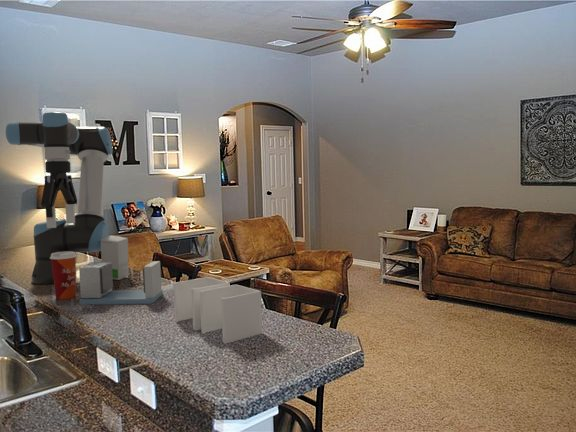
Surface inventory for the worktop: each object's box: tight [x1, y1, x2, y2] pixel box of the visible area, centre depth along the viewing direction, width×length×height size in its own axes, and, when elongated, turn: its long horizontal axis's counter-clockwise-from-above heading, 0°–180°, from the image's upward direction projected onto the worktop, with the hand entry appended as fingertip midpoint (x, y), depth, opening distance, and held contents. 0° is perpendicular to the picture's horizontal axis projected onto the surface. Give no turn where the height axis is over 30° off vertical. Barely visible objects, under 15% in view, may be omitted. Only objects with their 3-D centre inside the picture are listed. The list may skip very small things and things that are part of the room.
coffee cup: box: [50, 251, 78, 301], centre depth 173 cm, size 8×8×15 cm
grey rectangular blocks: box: [172, 276, 263, 345], centre depth 136 cm, size 25×11×11 cm, turn 40°
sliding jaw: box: [78, 261, 114, 299], centre depth 168 cm, size 10×7×10 cm
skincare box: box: [100, 234, 130, 281], centre depth 201 cm, size 8×7×16 cm
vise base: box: [79, 260, 164, 306], centre depth 168 cm, size 12×23×12 cm, turn 88°
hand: (61, 225), depth 171 cm, fingers open, 13 cm apart
